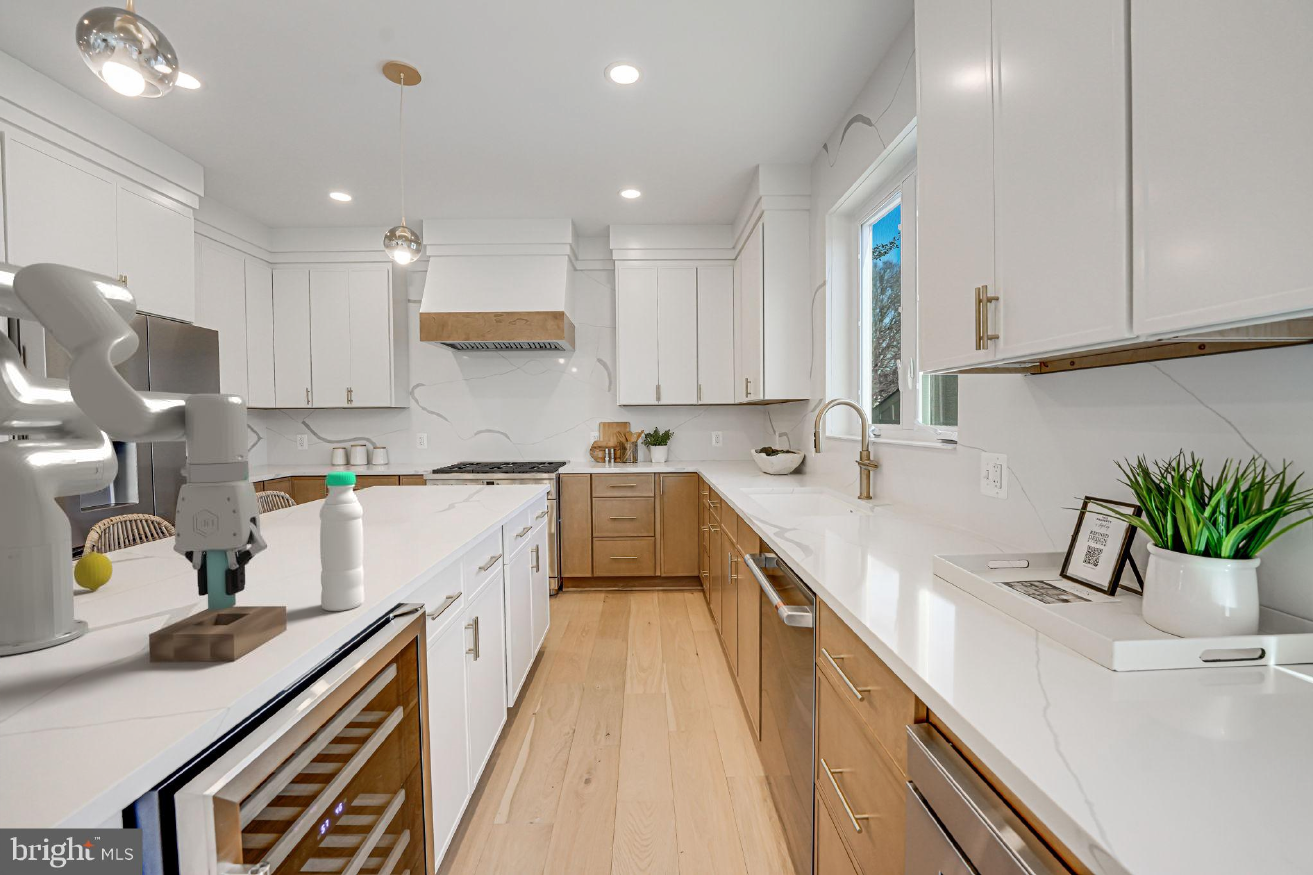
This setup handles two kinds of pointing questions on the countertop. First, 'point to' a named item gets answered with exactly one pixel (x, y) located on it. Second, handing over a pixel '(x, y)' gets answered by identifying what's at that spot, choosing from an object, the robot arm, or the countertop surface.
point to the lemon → (93, 571)
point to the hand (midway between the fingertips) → (222, 591)
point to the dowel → (218, 581)
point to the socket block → (217, 634)
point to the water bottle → (341, 545)
